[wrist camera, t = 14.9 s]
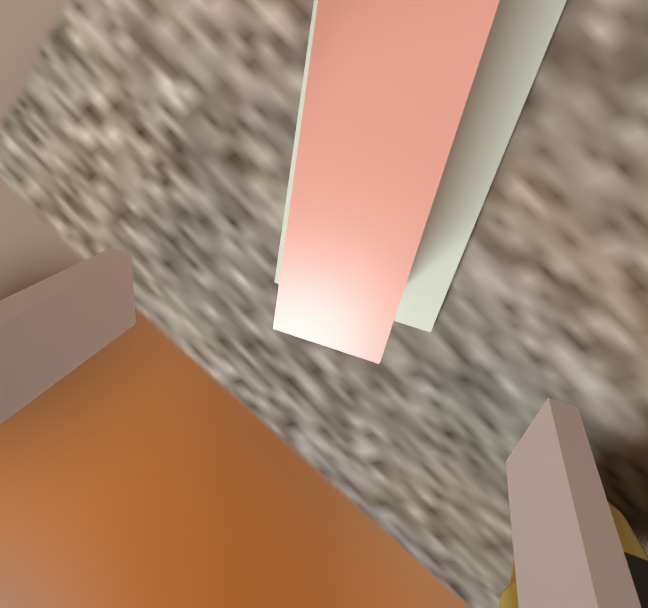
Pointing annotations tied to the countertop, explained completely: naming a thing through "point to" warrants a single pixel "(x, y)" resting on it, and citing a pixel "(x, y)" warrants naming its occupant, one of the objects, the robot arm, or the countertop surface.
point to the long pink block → (372, 160)
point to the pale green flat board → (465, 150)
